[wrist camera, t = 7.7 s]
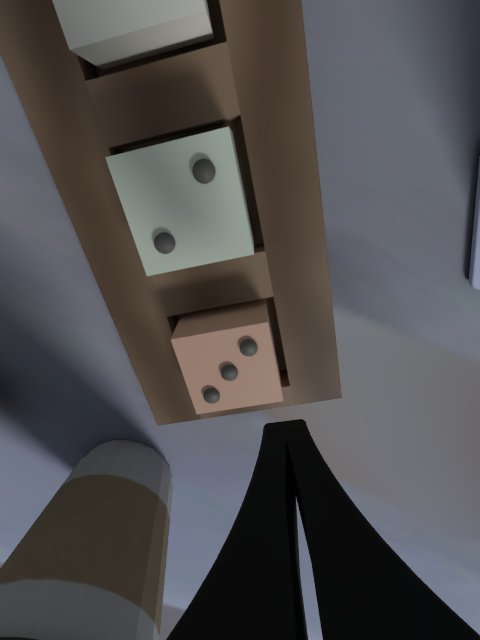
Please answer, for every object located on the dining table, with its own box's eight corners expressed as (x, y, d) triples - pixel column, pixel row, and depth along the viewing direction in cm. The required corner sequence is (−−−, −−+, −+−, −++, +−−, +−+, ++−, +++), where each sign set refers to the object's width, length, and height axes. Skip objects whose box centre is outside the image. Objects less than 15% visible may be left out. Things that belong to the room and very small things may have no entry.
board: (266, -237, 11) (269, -310, 10) (334, 378, 22) (341, 397, 21) (-45, -121, 13) (-93, -167, 11) (164, 405, 24) (157, 425, 22)
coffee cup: (66, 510, 29) (-89, 812, 16) (46, 410, 24) (-206, 727, 11) (195, 521, 30) (152, 827, 16) (201, 424, 25) (145, 751, 11)
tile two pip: (232, 131, 15) (228, 125, 12) (253, 239, 17) (254, 255, 15) (129, 157, 16) (103, 157, 13) (162, 258, 18) (145, 277, 15)
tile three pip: (265, 298, 19) (268, 323, 16) (279, 370, 21) (283, 403, 18) (181, 314, 20) (169, 341, 17) (203, 382, 22) (196, 416, 19)
